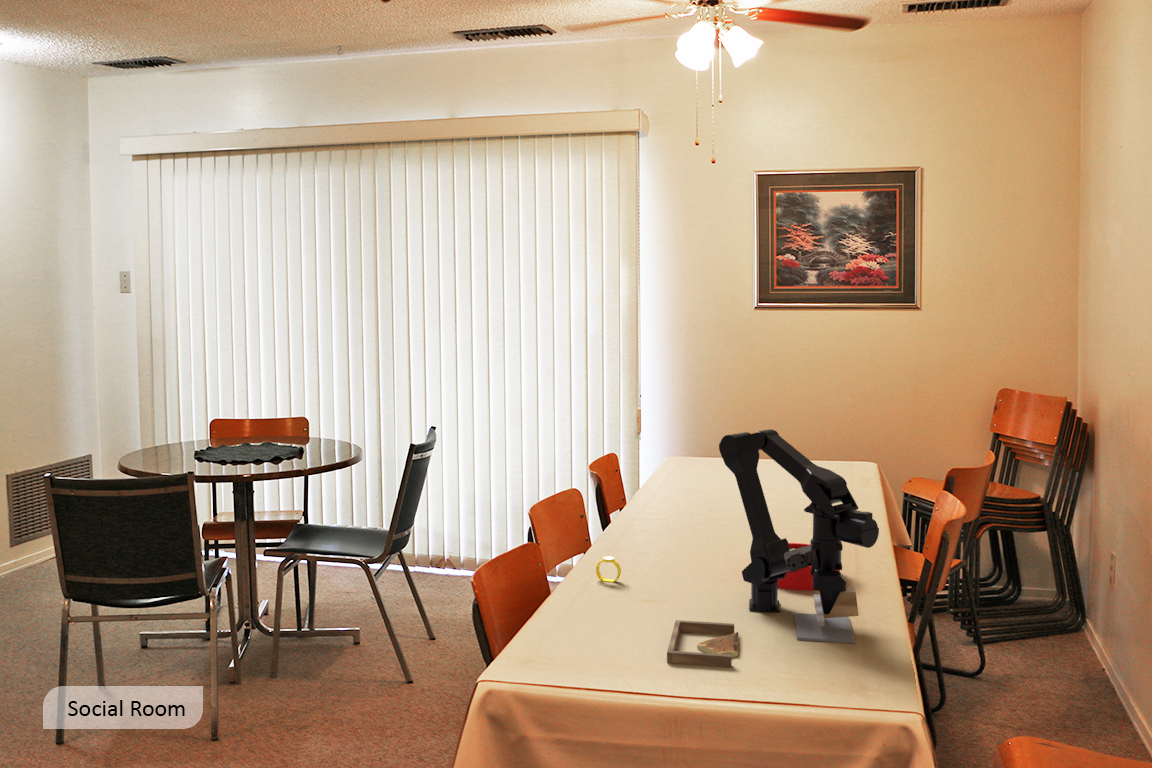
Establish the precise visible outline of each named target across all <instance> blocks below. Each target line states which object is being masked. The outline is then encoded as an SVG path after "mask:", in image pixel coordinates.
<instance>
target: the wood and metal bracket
mask: <svg viewBox="0 0 1152 768" xmlns="http://www.w3.org/2000/svg"><path fill="white" fill-rule="evenodd" d="M818 592H819V593H814V594H813V602H814V608H815V614H816V615H817V620H818V625H819V626H825V623H824V618H835V617H859V616H860V615H859V607H858V598H857V591H856V589H855V586H853V585H852V586H846V591H844V592H840V594H839V596H838V598H837V600H836V602H835V604H834V606H833V608H832V610H831V612H830V614H824V612H823V606H822V601H821V595H820V591H819V590H818Z"/></svg>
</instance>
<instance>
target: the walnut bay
mask: <svg viewBox="0 0 1152 768" xmlns="http://www.w3.org/2000/svg"><path fill="white" fill-rule="evenodd" d="M681 632H682V633H683V632H684V633H696V634H697V633H698V634H710V635H711V634H712V635H713V634H714V635H725V636H726V635H730V634H733V633H735V623H732V622H731V623H728V622H711V621H710V622H709V621H694V620H681V619H679V620H678V619H675V621H674V625H673V628H672V632H671V635H670V636H671V637H670V640H669V643H668V648H667V651H666V663H667V664H678V665H679V664H680V665H694V666H695V665H696V666H707V667H708V666H709V667H723V668H732V663H733V662H732V661H733V657H732V655H727V654H712V653H704V652H698V651H697V652H693V651H680V650H676V649H677V646H678V641H679V639H680V638H679V637H680V633H681Z"/></svg>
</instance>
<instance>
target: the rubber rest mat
mask: <svg viewBox="0 0 1152 768" xmlns="http://www.w3.org/2000/svg"><path fill="white" fill-rule="evenodd" d="M794 616H795V617H794V618H795V629H796V638H797V641H810V642H824V643H840V644H841V643H844V644H855V642H856V641H855V637H854V634H853V629H852V625H851V622H850V618H849V617H835V618H824V623H825V626H819V625H818V620H817V615H816V613H806V612H805V613H801V612H795V613H794Z"/></svg>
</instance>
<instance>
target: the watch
mask: <svg viewBox="0 0 1152 768" xmlns="http://www.w3.org/2000/svg"><path fill="white" fill-rule="evenodd" d="M603 562H604V563H612V564H614V566H615V567H616V569H617V575H616V578H615V579H609V578H605V577H604V576H603V575H601V571H600V566H601V564H602V563H603ZM595 573H596V575H597V577H598V579H599V580H600V582H604V583H605V582H606V583H615V582H617V581H618V580H619V579H620V577H621V574H622V567H621V565H620V564H619V562H618V561H617V560H616V559H615V557H613V556H611V555H610V556H603V557H602V559H601V560H599V561H598V563H597V565H596V566H595Z"/></svg>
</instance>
